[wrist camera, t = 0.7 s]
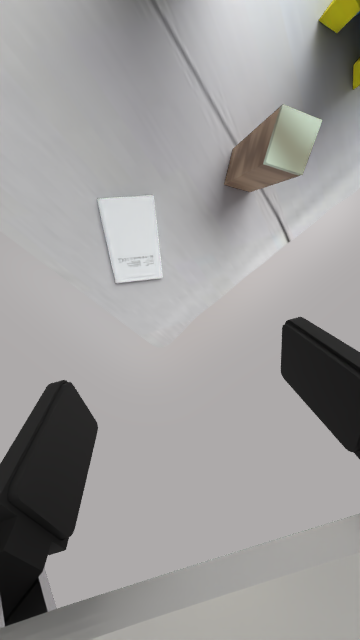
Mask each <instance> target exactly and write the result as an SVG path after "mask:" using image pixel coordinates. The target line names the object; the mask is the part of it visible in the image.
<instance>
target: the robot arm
mask: <svg viewBox="0 0 360 640" xmlns="http://www.w3.org/2000/svg"><path fill="white" fill-rule="evenodd" d="M281 374H282V376H283V378H284V379H285V380H286V381H287V383H289V385H290V386H291V387H292V388H293V389H294V390H295V392H296V393H297V394H298V395H299V396H300V397H301V398H302V399H303V401H304V402H305V403H306V404H307V405H308V406H309V407H310V408H311V410H312V411H313V412H314V413H315V414H316V415H317V416H318V418H319V419H320V420H321V421H322V422H323V423H324V424H325V425H326V427H327V428H328V429H329V430H330V431H331V432H332V433H333V435H334V436H335V437H336V438H337V439H338V440H339V442H340V443H342V445H343V446H344V447H345V448H346V449H347V450H348V451H350V452H354V453H355V454H356V455H357V456H358V458H359V459H360V352H358V351H356V350H355V349H353V348H352V347H350V346H349V345H347V344H345V343H344V342H342V341H340V340H339V339H337V338H335V337H334V336H332V335H331V334H329V333H327V332H326V331H324V330H322V329H321V328H319V327H317V326H316V325H314V324H312V323H311V322H309V321H308V320H306V319H304V318H302V317H298V318H294V319H291V320H288V321H286V323H285V325H283V328H282V352H281ZM97 430H98V426H97V422H96V420H95V419H94V417H93V416H92V414H91V413H90V411H89V409H88V408H87V406H86V405H85V403H84V401H83V400H82V398H81V397H80V395H79V394H78V392H77V390H76V389H75V387H74V386H73V385H72V383H70V382H67V381H65V380H62V381H59V382H55V383H51V384H49V385H48V386H47V387H46V389H45V391H44V393H43V394H42V396H41V397H40V399H39V401H38V402H37V404H36V406H35V407H34V409H33V411H32V412H31V414H30V416H29V417H28V419H27V421H26V422H25V424H24V426H23V427H22V429H21V431H20V432H19V434H18V436H17V437H16V439H15V441H14V442H13V444H12V446H11V447H10V449H9V451H8V452H7V454H6V456H5V457H4V459H3V461H2V462H1V464H0V640H360V514H357V515H354V516H350V517H347V518H344V519H341V520H337V521H334V522H331V523H328V524H325V525H321V526H318V527H315V528H311V529H308V530H305V531H302V532H298V533H295V534H292V535H289V536H285V537H282V538H279V539H276V540H273V541H269V542H266V543H263V544H260V545H257V546H253V547H250V548H247V549H244V550H241V551H237V552H234V553H231V554H228V555H225V556H221V557H218V558H215V559H212V560H209V561H206V562H203V563H199V564H196V565H193V566H190V567H187V568H183V569H180V570H177V571H174V572H171V573H167V574H164V575H161V576H158V577H155V578H152V579H149V580H146V581H142V582H139V583H136V584H133V585H130V586H127V587H124V588H120V589H117V590H114V591H111V592H108V593H105V594H101V595H98V596H95V597H92V598H89V599H86V600H83V601H80V602H77V603H73V604H70V605H67V606H64V607H61V608H58V609H57V608H56V605H55V602H54V598H53V595H52V592H51V588H50V585H49V582H48V578H47V575H46V572H45V568H44V566H45V562H46V559H47V556H48V555H51V554H54V553H57V552H61V551H64V550H66V547H67V543H68V539H69V537H70V536H71V535H72V534H73V531H74V529H75V525H76V521H77V516H78V512H79V508H80V504H81V499H82V495H83V491H84V487H85V482H86V478H87V474H88V469H89V465H90V461H91V457H92V452H93V448H94V444H95V439H96V435H97Z"/></svg>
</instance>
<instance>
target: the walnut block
mask: <svg viewBox="0 0 360 640" xmlns="http://www.w3.org/2000/svg"><path fill="white" fill-rule="evenodd" d="M321 123H322V120H321V119H318V118H316V117H313V116H311V115H308V114H306V113H304V112H301V111H299V110H296V109H294V108H291V107H289V106H286V105H284V104H283V105H282V106H280V107H279V108H278V109H277V110H276V111H275V112H274V113H273V114H272V115H270V116H269V117H268V118H267V119H266V120H265V121H264V122H263V123H261V124H260V125H259V126H258V127H257V128H256V129H255V130H254V131H252V132H251V133H250V134H249V135H248V136H247V137H246V138H245V139H243V140H242V141H241V142H240V143H239V144H238V145H237V146H236V147H235V148H233V150H232V154H231V159H230V163H229V167H228V171H227V175H226V179H225V183H224V185H227V186H230V187H234V188H237V189H241V190H244V191H248V192H252V191H255V190H258V189H261V188H264V187H267V186H270V185H273V184H276V183H279V182H282V181H285V180H288V179H291V178H294V177H297V176H300V175H303V172H304V170H305V167H306V164H307V161H308V159H309V156H310V153H311V150H312V148H313V145H314V142H315V139H316V137H317V134H318V131H319V128H320V126H321Z"/></svg>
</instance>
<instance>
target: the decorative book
mask: <svg viewBox="0 0 360 640" xmlns="http://www.w3.org/2000/svg"><path fill="white" fill-rule="evenodd" d="M359 13H360V0H333V1H332V2H331V4H330V5H329V7H328V8H327V9H326V11H325V12H324V13H323V15H322V16H321V18H320V19H319V20H318V21H320V22H321V23H323V24H324V25H325V26H327V27H328V28H330V29H331V30H333V31H334V32H336V33H338V32H339V31H340V30H341V29H342V28H343V27H344V26H345V25H346V24H347V23H348V22H349V21H350V20H351V19H352V18H353V17H354V16H355V15H356V16H357V15H358V14H359ZM359 85H360V57H359V59H358V60H357V61H356V62H355V64H354V65H353V89H355V88H356V87H358V86H359Z"/></svg>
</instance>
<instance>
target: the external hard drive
mask: <svg viewBox="0 0 360 640" xmlns="http://www.w3.org/2000/svg"><path fill="white" fill-rule="evenodd" d="M97 201H98V206H99V210H100V215H101V219H102V224H103V229H104V233H105V238H106V242H107V247H108V251H109V256H110V260H111V265H112V269H113V274H114V278H115V283H123V282H132V281H141V280H150V279H159V278H163V275H162V265H161V256H160V247H159V238H158V229H157V220H156V211H155V202H154V195H144V196H129V197H114V198H99V199H97Z"/></svg>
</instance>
